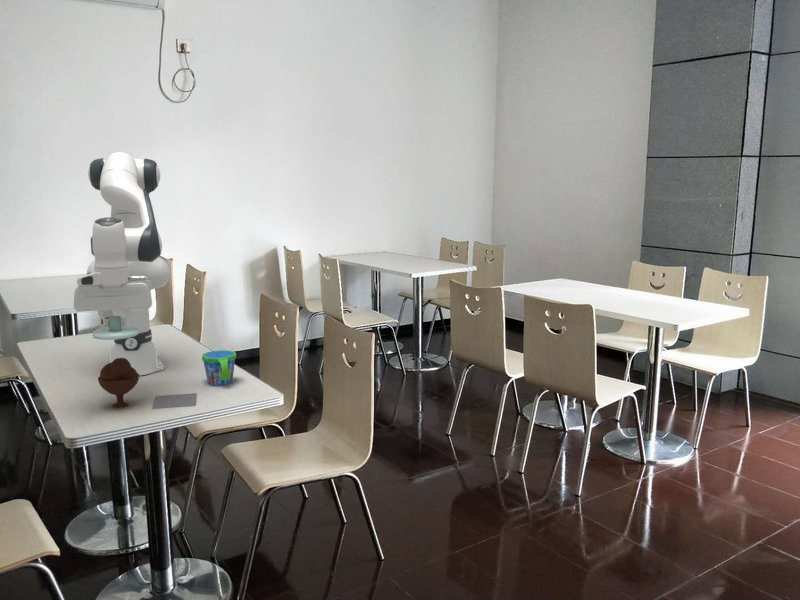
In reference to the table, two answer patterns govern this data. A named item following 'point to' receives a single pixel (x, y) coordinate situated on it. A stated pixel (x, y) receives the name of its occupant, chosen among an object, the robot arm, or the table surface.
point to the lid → (115, 330)
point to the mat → (174, 401)
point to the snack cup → (219, 367)
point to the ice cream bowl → (118, 379)
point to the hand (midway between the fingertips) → (115, 325)
